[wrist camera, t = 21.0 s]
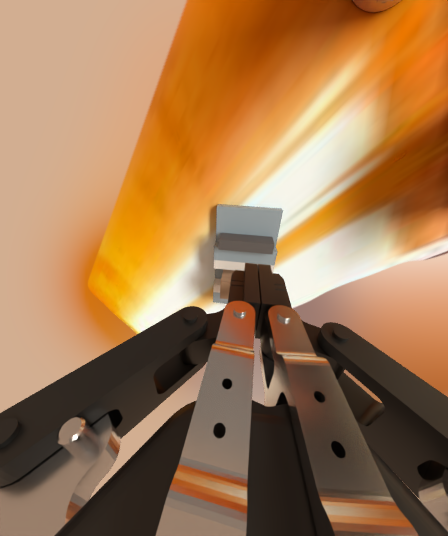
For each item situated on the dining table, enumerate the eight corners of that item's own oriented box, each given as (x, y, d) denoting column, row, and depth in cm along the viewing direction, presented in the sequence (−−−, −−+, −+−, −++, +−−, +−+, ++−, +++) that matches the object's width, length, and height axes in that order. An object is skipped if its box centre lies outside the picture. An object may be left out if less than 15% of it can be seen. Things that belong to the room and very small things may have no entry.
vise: (218, 204, 36) (214, 209, 33) (281, 208, 35) (285, 214, 32) (215, 293, 47) (213, 304, 44) (263, 299, 47) (264, 310, 43)
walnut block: (224, 263, 41) (220, 281, 35) (261, 266, 40) (264, 286, 34) (223, 278, 43) (219, 298, 37) (259, 282, 42) (260, 302, 36)
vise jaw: (216, 232, 37) (213, 239, 34) (277, 237, 36) (280, 244, 33) (215, 262, 41) (212, 271, 38) (271, 268, 40) (273, 277, 37)
